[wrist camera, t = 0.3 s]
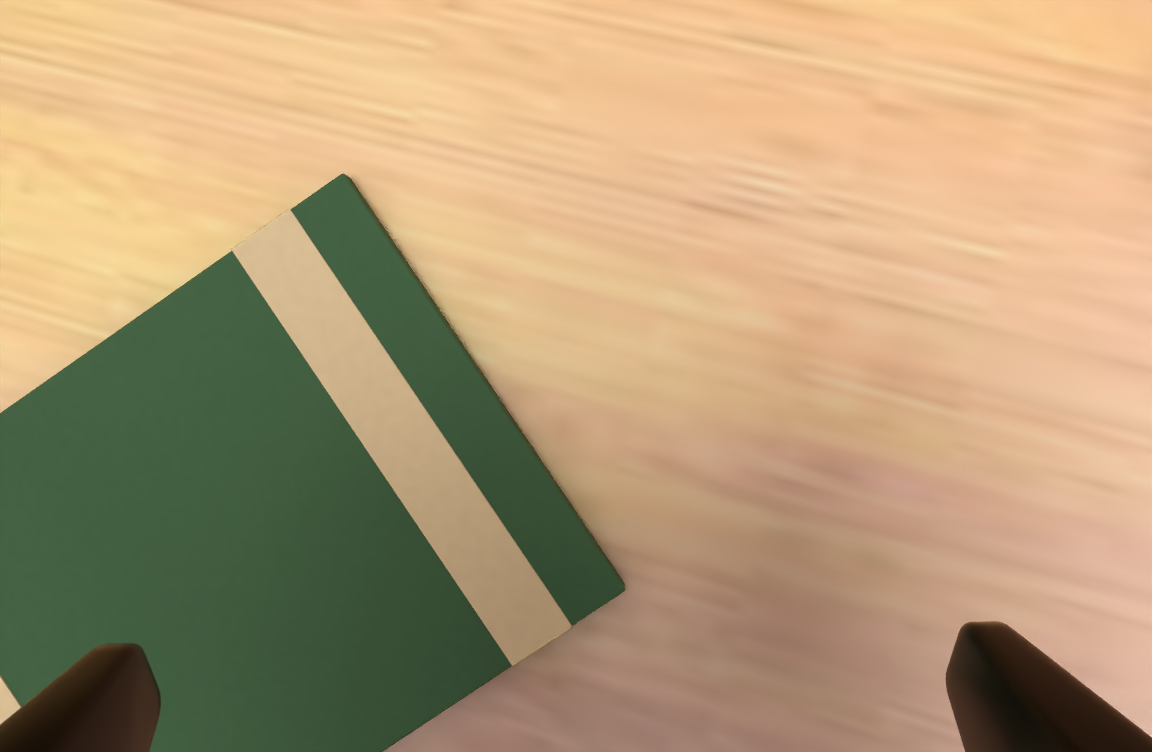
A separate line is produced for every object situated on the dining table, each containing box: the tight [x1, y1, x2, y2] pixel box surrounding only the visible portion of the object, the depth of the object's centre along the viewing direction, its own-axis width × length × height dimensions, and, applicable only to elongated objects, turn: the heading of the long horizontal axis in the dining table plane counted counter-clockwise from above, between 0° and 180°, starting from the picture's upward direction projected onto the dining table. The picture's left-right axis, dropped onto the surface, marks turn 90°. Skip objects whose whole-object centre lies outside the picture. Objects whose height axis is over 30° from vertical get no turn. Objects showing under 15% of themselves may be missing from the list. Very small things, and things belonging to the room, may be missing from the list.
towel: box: [0, 174, 625, 752], centre depth 24 cm, size 14×20×1 cm
